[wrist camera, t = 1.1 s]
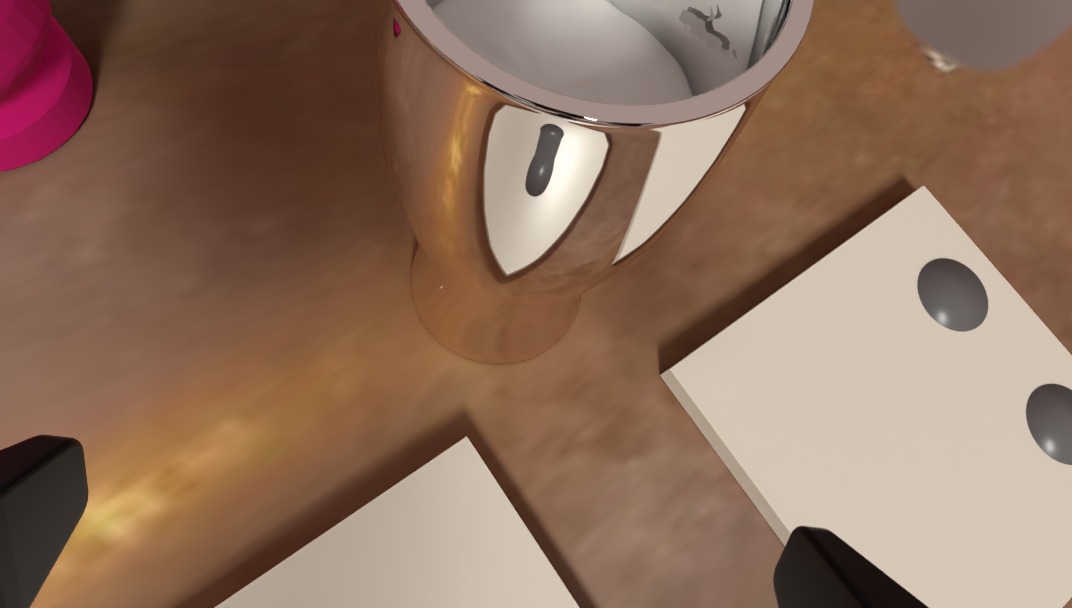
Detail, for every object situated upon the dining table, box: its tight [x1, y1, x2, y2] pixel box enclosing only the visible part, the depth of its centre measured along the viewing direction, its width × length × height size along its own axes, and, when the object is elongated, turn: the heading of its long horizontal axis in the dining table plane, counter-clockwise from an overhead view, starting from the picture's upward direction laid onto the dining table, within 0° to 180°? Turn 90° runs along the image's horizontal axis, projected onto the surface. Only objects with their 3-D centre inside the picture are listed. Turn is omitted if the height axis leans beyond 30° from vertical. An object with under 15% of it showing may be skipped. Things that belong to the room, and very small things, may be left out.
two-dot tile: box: [660, 186, 1072, 608], centre depth 24 cm, size 14×14×1 cm
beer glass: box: [371, 0, 814, 365], centre depth 16 cm, size 7×7×15 cm
